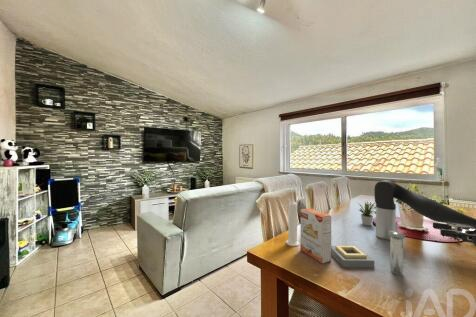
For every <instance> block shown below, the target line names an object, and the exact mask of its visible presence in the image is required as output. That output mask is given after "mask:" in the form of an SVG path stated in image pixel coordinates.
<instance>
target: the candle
mask: <svg viewBox="0 0 476 317" xmlns="http://www.w3.org/2000/svg"><path fill="white" fill-rule="evenodd" d="M285 243H286V245H288V246H290V247H298V246H300V243H301V242H300V241H298V203H297V202H295V199H294V197H292V198H291V201H290V202H288V239H287V240H286V241H285Z"/></svg>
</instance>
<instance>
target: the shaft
mask: <svg viewBox="0 0 476 317" xmlns="http://www.w3.org/2000/svg"><path fill="white" fill-rule="evenodd" d="M389 235H390V240H389V241H390V242H389V243H390V244H389V247H390V248H389V249H390V250H389V251H390V253H389V254H390V256H389V257H390V258H389V259H390V260H389V262H390V264H389V266H390V267H389V268H390V273H392V274H394V275H395V276H400V277H402V276H403V275H404V239H406V233H403V232H400V231H398V230H397V231H389Z"/></svg>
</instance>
